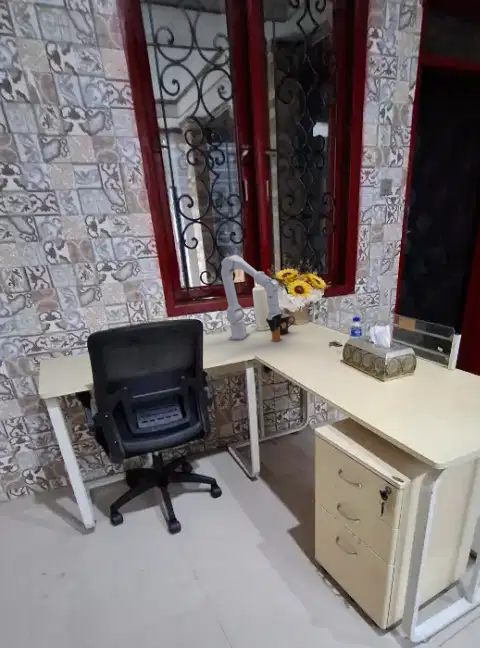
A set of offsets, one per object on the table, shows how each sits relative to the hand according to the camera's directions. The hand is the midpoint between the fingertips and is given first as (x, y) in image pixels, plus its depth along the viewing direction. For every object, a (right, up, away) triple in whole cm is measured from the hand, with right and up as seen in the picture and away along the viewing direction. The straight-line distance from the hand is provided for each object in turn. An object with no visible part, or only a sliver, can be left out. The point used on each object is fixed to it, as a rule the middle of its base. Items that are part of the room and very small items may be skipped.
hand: (275, 329), depth 225 cm
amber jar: (+1, -5, +3) cm, 6 cm away
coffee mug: (+5, +1, +13) cm, 14 cm away
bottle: (-8, +6, +25) cm, 27 cm away
